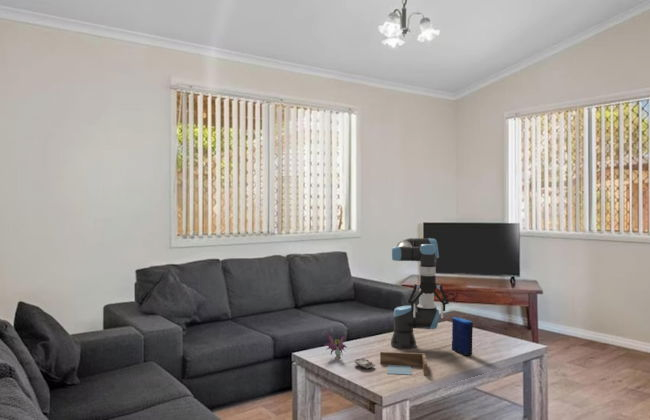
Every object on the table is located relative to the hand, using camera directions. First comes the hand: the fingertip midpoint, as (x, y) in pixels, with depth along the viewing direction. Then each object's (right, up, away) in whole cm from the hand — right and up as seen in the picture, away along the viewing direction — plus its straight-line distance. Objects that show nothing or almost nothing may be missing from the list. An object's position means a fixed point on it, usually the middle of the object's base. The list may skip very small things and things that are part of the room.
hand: (428, 317), depth 243 cm
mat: (-13, -28, +6) cm, 32 cm away
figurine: (-45, -29, +26) cm, 59 cm away
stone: (-33, -29, +7) cm, 44 cm away
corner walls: (-11, -28, +7) cm, 31 cm away
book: (+27, -29, +36) cm, 54 cm away
